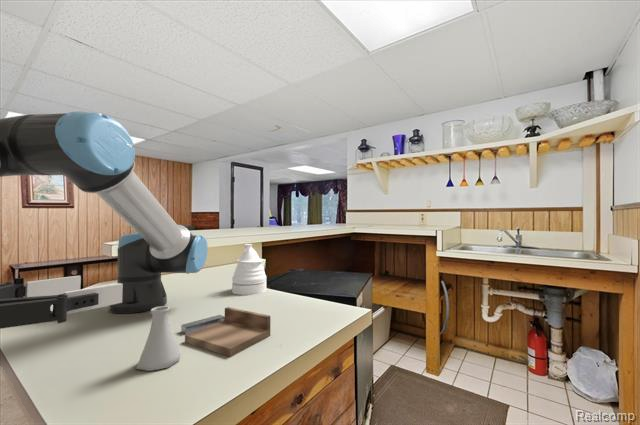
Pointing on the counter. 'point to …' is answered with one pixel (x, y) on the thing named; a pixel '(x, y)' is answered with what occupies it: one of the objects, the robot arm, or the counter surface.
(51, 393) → the counter surface
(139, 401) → the counter surface
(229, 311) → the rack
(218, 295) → the counter surface
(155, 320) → the flask
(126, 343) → the counter surface
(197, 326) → the grey rectangular bar
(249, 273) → the honey pot
